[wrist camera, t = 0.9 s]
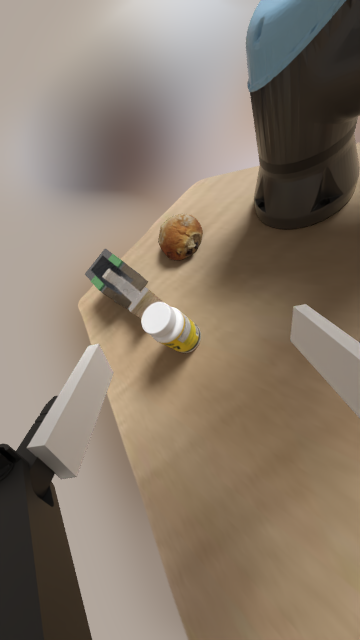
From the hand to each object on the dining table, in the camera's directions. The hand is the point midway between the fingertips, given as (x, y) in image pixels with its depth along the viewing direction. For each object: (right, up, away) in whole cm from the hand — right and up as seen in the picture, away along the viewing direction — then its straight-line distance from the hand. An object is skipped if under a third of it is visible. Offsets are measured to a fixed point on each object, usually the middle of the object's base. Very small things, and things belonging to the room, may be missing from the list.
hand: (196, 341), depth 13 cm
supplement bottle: (0, -2, +22) cm, 22 cm away
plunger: (-9, +5, +29) cm, 30 cm away
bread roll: (0, +19, +32) cm, 37 cm away
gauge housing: (-14, +10, +35) cm, 39 cm away
